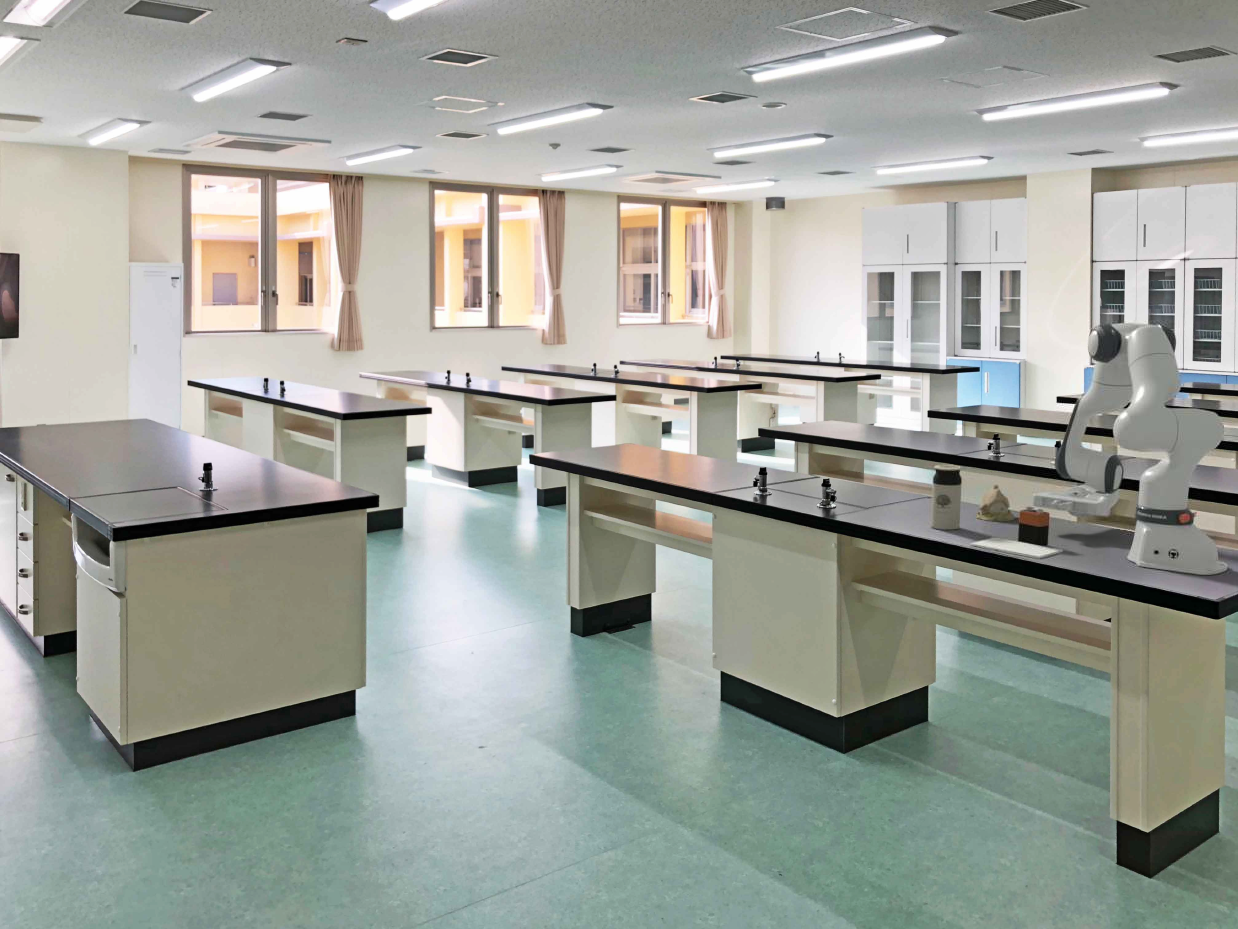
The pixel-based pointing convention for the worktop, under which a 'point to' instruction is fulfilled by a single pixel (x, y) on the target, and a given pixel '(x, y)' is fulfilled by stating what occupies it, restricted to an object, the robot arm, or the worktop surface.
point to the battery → (1033, 526)
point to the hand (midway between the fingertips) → (1056, 506)
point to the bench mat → (1017, 547)
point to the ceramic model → (995, 506)
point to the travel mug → (946, 497)
